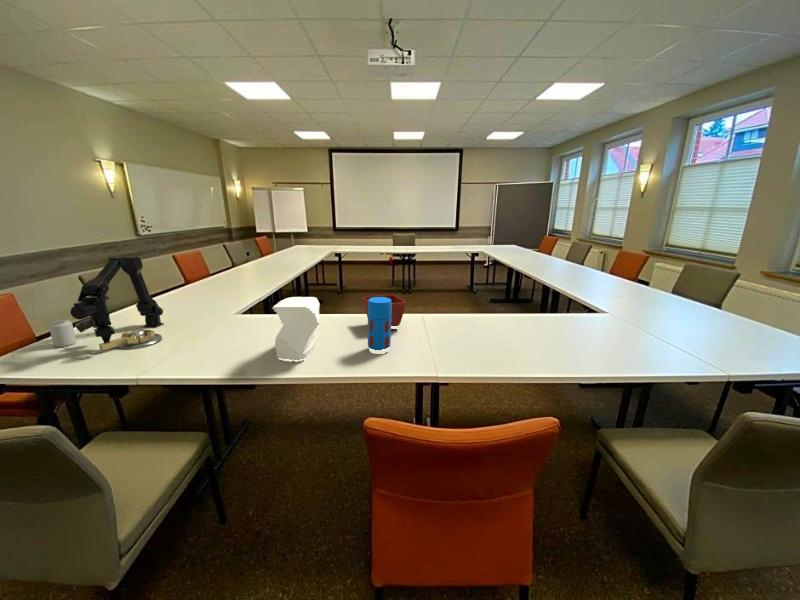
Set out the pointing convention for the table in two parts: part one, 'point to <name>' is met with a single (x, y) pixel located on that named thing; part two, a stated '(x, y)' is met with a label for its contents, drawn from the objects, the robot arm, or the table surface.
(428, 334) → the table surface
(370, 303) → the thermos
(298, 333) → the white irregular block
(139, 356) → the table surface
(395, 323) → the plant pot
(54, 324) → the can
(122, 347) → the cap plate
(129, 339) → the wooden gear crank
